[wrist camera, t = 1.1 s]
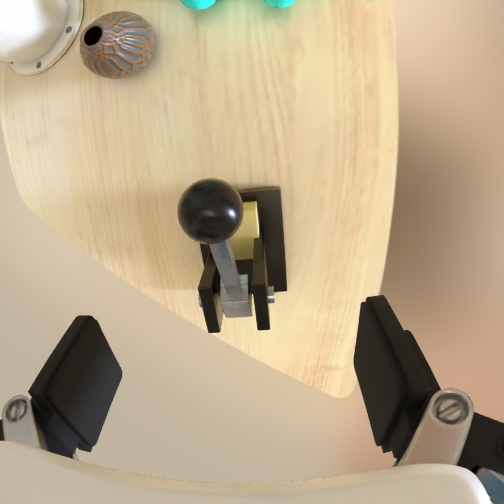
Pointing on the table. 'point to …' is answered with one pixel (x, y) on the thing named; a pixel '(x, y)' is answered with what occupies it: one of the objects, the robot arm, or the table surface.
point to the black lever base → (251, 262)
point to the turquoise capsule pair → (205, 0)
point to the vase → (117, 44)
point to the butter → (246, 233)
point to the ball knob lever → (218, 237)
